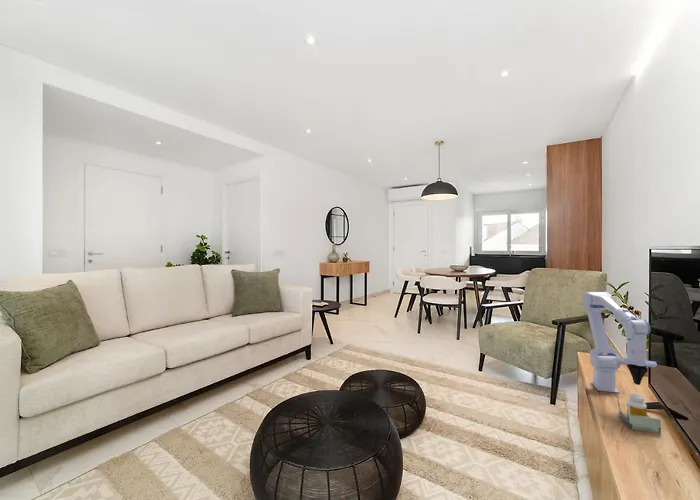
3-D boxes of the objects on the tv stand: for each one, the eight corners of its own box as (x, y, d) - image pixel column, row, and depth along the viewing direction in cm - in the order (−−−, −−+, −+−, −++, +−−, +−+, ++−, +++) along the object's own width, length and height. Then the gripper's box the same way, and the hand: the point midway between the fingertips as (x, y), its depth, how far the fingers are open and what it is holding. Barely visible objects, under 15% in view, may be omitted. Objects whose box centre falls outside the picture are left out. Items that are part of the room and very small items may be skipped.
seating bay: (619, 416, 122) (618, 403, 121) (647, 420, 118) (647, 407, 118) (629, 428, 113) (629, 415, 113) (660, 433, 110) (660, 419, 110)
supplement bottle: (651, 426, 114) (650, 400, 114) (634, 425, 115) (634, 399, 115) (639, 418, 120) (639, 393, 120) (623, 417, 120) (623, 392, 120)
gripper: (618, 351, 125) (618, 385, 125) (665, 355, 119) (666, 390, 120) (611, 345, 131) (611, 378, 132) (656, 349, 126) (656, 383, 126)
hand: (636, 383), depth 126 cm, fingers closed
